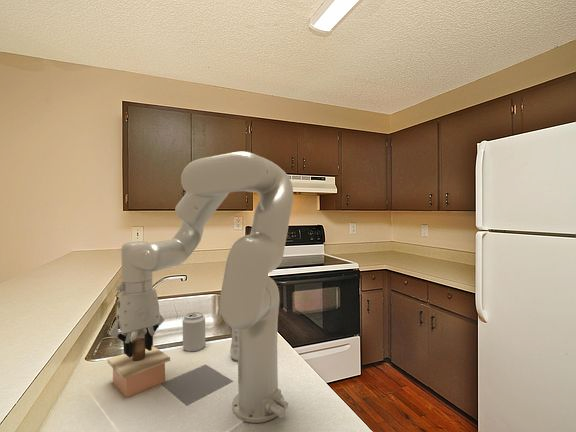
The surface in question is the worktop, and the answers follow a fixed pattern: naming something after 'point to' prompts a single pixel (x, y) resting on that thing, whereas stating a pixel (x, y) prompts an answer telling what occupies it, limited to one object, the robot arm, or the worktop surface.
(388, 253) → the worktop surface
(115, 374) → the pink open storage bin
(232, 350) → the plastic bottle
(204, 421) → the worktop surface
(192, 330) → the can
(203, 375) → the mat
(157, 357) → the lid
